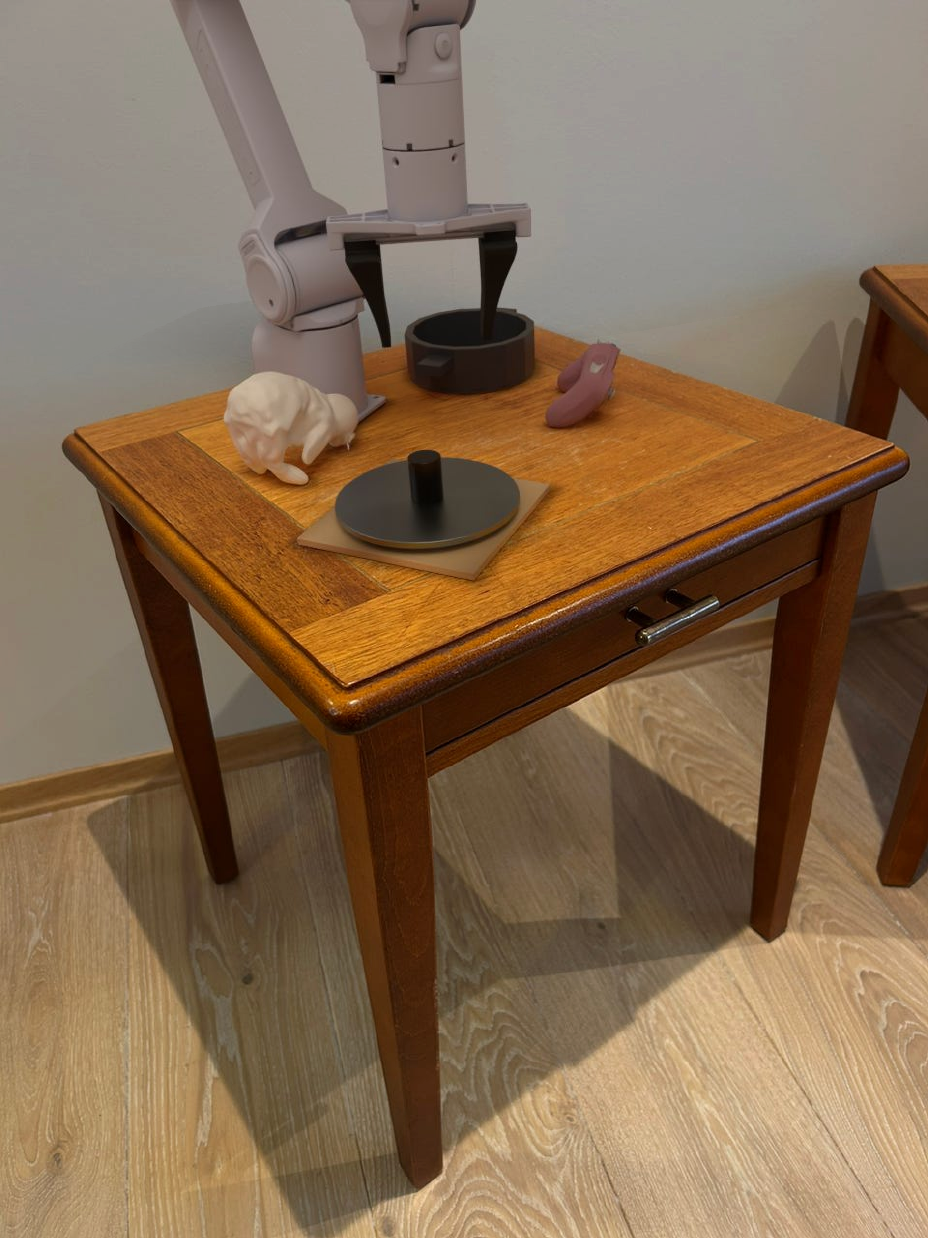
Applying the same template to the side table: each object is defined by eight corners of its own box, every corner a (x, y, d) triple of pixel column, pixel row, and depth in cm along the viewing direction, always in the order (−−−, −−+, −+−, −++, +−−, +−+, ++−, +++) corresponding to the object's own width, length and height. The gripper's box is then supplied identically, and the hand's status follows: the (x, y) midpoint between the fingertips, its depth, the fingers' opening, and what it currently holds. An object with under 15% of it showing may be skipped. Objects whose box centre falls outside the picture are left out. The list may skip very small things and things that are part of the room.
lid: (300, 536, 69) (291, 482, 67) (393, 459, 79) (387, 409, 77) (472, 571, 64) (468, 514, 62) (547, 484, 74) (547, 432, 72)
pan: (372, 395, 93) (367, 350, 90) (454, 337, 106) (452, 296, 104) (492, 411, 88) (490, 364, 86) (562, 348, 101) (562, 305, 99)
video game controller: (586, 448, 84) (626, 379, 80) (539, 424, 84) (577, 354, 80) (596, 404, 92) (633, 340, 88) (554, 383, 92) (588, 317, 88)
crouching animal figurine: (209, 375, 74) (320, 344, 82) (222, 480, 78) (327, 440, 87) (266, 390, 71) (376, 356, 79) (276, 498, 75) (380, 456, 83)
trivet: (297, 544, 70) (296, 537, 69) (391, 465, 80) (391, 458, 79) (474, 581, 64) (473, 573, 64) (550, 490, 74) (550, 483, 74)
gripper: (314, 161, 63) (340, 364, 71) (536, 146, 63) (537, 349, 71) (320, 144, 69) (343, 333, 76) (523, 130, 69) (525, 320, 77)
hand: (436, 339), depth 74 cm, fingers open, 7 cm apart
